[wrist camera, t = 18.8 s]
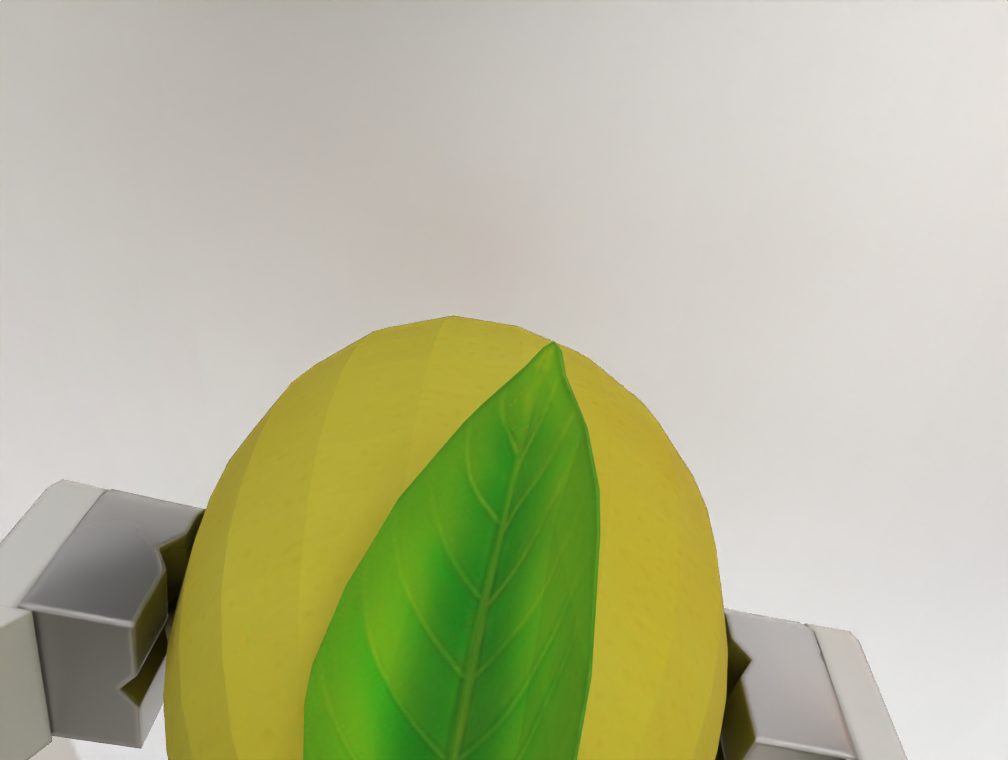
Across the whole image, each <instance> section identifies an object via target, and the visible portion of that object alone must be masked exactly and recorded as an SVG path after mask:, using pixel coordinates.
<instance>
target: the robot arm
mask: <svg viewBox="0 0 1008 760" xmlns="http://www.w3.org/2000/svg"><path fill="white" fill-rule="evenodd" d="M205 511H206V510H205V509H201V508H196V507H192V506H187V505H182V504H178V503H173V502H169V501H164V500H159V499H155V498H150V497H146V496H141V495H136V494H132V493H127V492H123V491H118V490H113V489H111V490H109V489H104V488H100V487H95V486H91V485H86V484H81V483H77V482H72V481H68V480H63V479H62V480H61V481H59V482H57V483H55V484H53V485H51V486H50V487H48V488H47V489H46V490H45V491H44V492H43V493H42V495H41V496H40V497H39V498H38V499H37V500H36V502H35V503H34V504H33V505H32V506H31V508H30V509H29V510H28V511H27V512H26V513H25V515H24V516H23V517H22V518H21V519H20V520H19V522H18V523H17V524H16V525H15V526H14V527H13V529H12V530H11V531H10V532H9V533H8V535H7V536H6V537H5V538H4V539H3V540H2V542H1V543H0V760H28V759H30V758H31V757H32V756H34V755H35V754H36V753H38V752H39V751H40V750H41V749H43V748H44V747H45V746H46V745H48V744H49V743H51V742H52V736H58V737H64V738H71V739H78V740H85V741H92V742H99V743H106V744H113V745H120V746H127V747H134V748H142V746H143V743H144V741H145V739H146V737H147V735H148V733H149V731H150V729H151V727H152V725H153V723H154V721H155V719H156V717H157V715H158V713H159V711H160V709H161V707H162V704H163V702H164V700H163V692H164V680H165V669H166V657H167V645H168V640H169V636H170V632H171V627H172V623H173V618H174V614H175V610H176V605H177V601H178V597H179V593H180V590H181V586H182V583H183V579H184V576H185V572H186V569H187V565H188V562H189V558H190V555H191V551H192V548H193V544H194V541H195V538H196V535H197V532H198V530H199V527H200V524H201V522H202V519H203V516H204V513H205ZM724 616H725V626H726V636H727V646H728V664H727V694H726V704H725V710H724V716H723V721H722V727H721V733H720V739H719V745H718V751H717V754H716V758H715V760H908V759H907V757H906V754H905V752H904V749H903V747H902V744H901V742H900V740H899V737H898V735H897V732H896V730H895V727H894V725H893V723H892V720H891V718H890V715H889V713H888V710H887V708H886V705H885V703H884V701H883V698H882V696H881V693H880V691H879V688H878V686H877V684H876V681H875V679H874V676H873V674H872V671H871V669H870V666H869V664H868V662H867V659H866V657H865V654H864V652H863V649H862V647H861V645H860V642H859V640H858V639H857V638H856V637H855V636H854V635H853V634H852V633H851V632H850V631H844V630H839V629H833V628H828V627H822V626H817V625H811V624H801V623H799V622H795V621H789V620H784V619H778V618H773V617H767V616H762V615H756V614H751V613H745V612H740V611H734V610H729V609H724Z"/></svg>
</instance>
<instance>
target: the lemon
mask: <svg viewBox="0 0 1008 760" xmlns="http://www.w3.org/2000/svg"><path fill="white" fill-rule="evenodd" d="M727 664H728V646H727V636H726V626H725V616H724V606H723V599H722V591H721V583H720V575H719V568H718V560H717V552H716V545H715V541H714V537H713V532H712V528H711V524H710V519H709V515H708V511H707V507H706V505H705V503H704V500H703V498H702V496H701V493H700V491H699V489H698V486H697V484H696V482H695V479H694V477H693V475H692V474H691V472H690V471H689V469H688V467H687V466H686V464H685V463H684V461H683V460H682V458H681V457H680V455H679V453H678V452H677V450H676V449H675V447H674V446H673V444H672V443H671V441H670V440H669V438H668V436H667V435H666V433H665V432H664V430H663V429H662V427H661V426H660V424H659V422H658V421H657V420H656V419H655V417H654V416H653V415H652V414H651V412H650V411H649V410H648V409H647V408H646V406H645V405H644V404H643V403H642V401H641V400H639V399H638V398H637V397H636V396H634V395H633V394H632V393H631V392H630V391H628V390H627V389H626V388H625V387H623V386H622V385H621V384H620V383H618V382H617V381H616V380H615V379H614V378H612V377H611V376H610V375H609V374H607V373H606V372H605V371H604V370H603V369H601V368H600V367H599V366H598V365H596V364H595V363H594V362H593V361H592V360H590V359H589V358H587V357H585V356H584V355H582V354H580V353H578V352H576V351H574V350H572V349H569V348H567V347H565V346H562V345H560V344H558V343H555V342H554V341H551V340H548V339H546V338H544V337H541V336H539V335H537V334H534V333H532V332H530V331H527V330H525V329H523V328H520V327H518V326H514V325H508V324H501V323H495V322H489V321H483V320H477V319H471V318H465V317H459V316H448V317H442V318H437V319H432V320H426V321H421V322H415V323H410V324H404V325H399V326H393V327H389V328H385V329H381V330H377V331H373V332H372V333H370V334H368V335H366V336H365V337H363V338H361V339H359V340H358V341H356V342H354V343H352V344H351V345H349V346H347V347H345V348H344V349H342V350H340V351H338V352H337V353H335V354H333V355H331V356H330V357H328V358H326V359H324V360H323V361H321V362H319V363H317V364H316V365H314V366H313V367H312V368H310V369H309V370H308V371H306V372H305V373H304V374H302V375H301V376H300V377H298V378H297V379H296V380H294V381H293V382H292V383H291V384H290V385H289V387H288V388H287V389H286V390H285V391H284V393H283V394H282V395H281V396H280V397H279V399H278V400H277V401H276V402H275V404H274V405H273V406H272V407H271V408H270V410H269V411H268V412H267V413H266V415H265V416H264V417H263V418H262V419H261V421H260V422H259V423H258V424H257V425H256V427H255V428H254V429H253V430H252V432H251V433H250V434H249V435H248V437H247V438H246V439H245V441H244V442H243V443H242V445H241V446H240V447H239V448H238V450H237V451H236V452H235V454H234V455H233V456H232V458H231V459H230V460H229V462H228V464H227V466H226V468H225V470H224V471H223V473H222V475H221V477H220V479H219V481H218V483H217V485H216V487H215V489H214V491H213V493H212V495H211V497H210V500H209V503H208V505H207V508H206V511H205V513H204V516H203V519H202V522H201V524H200V527H199V530H198V532H197V535H196V538H195V541H194V544H193V548H192V551H191V555H190V558H189V562H188V565H187V569H186V572H185V576H184V579H183V583H182V586H181V590H180V593H179V597H178V601H177V605H176V610H175V614H174V618H173V623H172V627H171V632H170V636H169V640H168V645H167V657H166V669H165V680H164V692H163V700H164V717H165V734H166V750H167V755H168V760H715V758H716V754H717V751H718V745H719V739H720V733H721V727H722V721H723V716H724V710H725V704H726V694H727Z"/></svg>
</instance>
